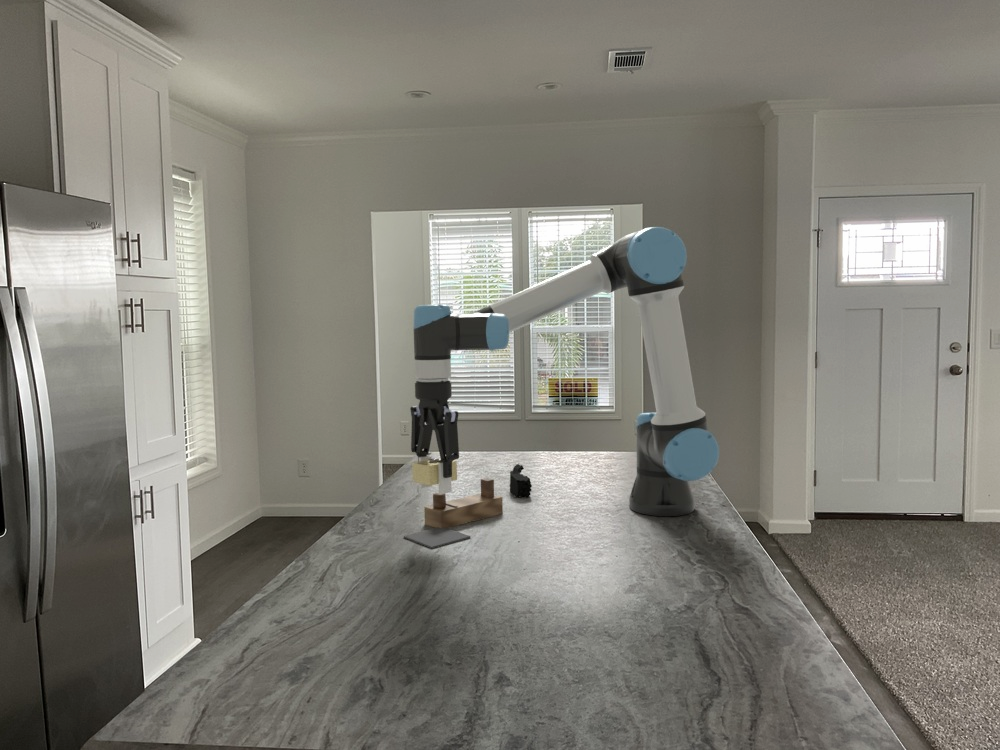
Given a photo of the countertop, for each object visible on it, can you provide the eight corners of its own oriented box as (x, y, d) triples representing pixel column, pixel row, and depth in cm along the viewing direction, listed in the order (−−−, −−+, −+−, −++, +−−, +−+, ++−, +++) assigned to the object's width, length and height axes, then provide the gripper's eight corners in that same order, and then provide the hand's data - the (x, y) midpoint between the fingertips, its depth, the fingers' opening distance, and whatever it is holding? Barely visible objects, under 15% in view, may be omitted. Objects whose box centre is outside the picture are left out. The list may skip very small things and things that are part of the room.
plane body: (486, 508, 178) (485, 475, 177) (502, 513, 173) (502, 480, 172) (424, 524, 166) (423, 489, 165) (440, 529, 161) (440, 493, 161)
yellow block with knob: (440, 476, 159) (439, 455, 159) (457, 479, 155) (456, 458, 154) (413, 481, 154) (412, 459, 154) (430, 485, 150) (428, 462, 150)
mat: (470, 538, 155) (470, 536, 155) (431, 548, 149) (431, 546, 149) (441, 527, 163) (441, 526, 163) (403, 537, 156) (403, 535, 156)
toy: (532, 498, 187) (532, 472, 186) (512, 499, 186) (512, 473, 185) (523, 485, 202) (523, 461, 201) (505, 486, 201) (505, 462, 201)
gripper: (476, 381, 148) (478, 494, 150) (421, 375, 162) (423, 479, 164) (446, 384, 143) (448, 501, 145) (392, 378, 157) (394, 484, 159)
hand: (435, 489), depth 155 cm, fingers closed on yellow block with knob, 6 cm apart
